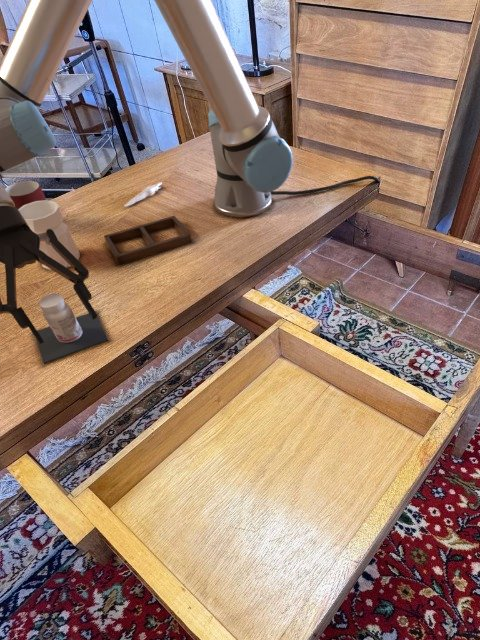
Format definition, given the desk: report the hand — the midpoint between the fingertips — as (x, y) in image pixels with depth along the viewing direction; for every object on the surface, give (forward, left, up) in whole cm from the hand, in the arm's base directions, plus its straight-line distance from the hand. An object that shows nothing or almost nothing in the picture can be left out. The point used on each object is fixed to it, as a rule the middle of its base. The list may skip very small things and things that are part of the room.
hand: (68, 329), depth 81 cm
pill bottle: (+1, -3, -4) cm, 5 cm away
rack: (-23, -28, -4) cm, 37 cm away
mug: (-1, -51, -4) cm, 51 cm away
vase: (-3, -32, -4) cm, 33 cm away
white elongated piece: (-30, -52, -4) cm, 60 cm away
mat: (+1, -3, -4) cm, 5 cm away
